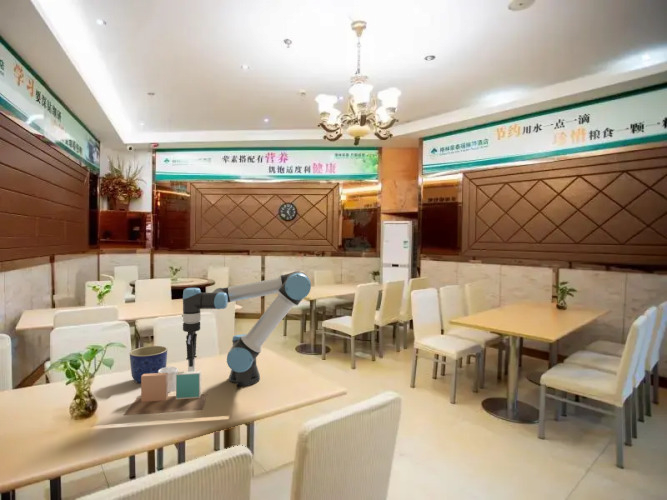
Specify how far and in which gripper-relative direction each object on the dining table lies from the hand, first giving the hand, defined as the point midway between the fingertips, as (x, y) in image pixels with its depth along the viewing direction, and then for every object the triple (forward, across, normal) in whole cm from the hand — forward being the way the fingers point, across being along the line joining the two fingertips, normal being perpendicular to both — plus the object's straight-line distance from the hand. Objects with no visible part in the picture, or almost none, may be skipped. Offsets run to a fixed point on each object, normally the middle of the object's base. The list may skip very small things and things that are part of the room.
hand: (191, 372), depth 173 cm
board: (+10, +13, -7) cm, 18 cm away
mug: (+10, -3, -13) cm, 16 cm away
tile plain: (+8, +8, -14) cm, 18 cm away
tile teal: (+8, +8, 0) cm, 11 cm away
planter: (+10, -19, -24) cm, 32 cm away
